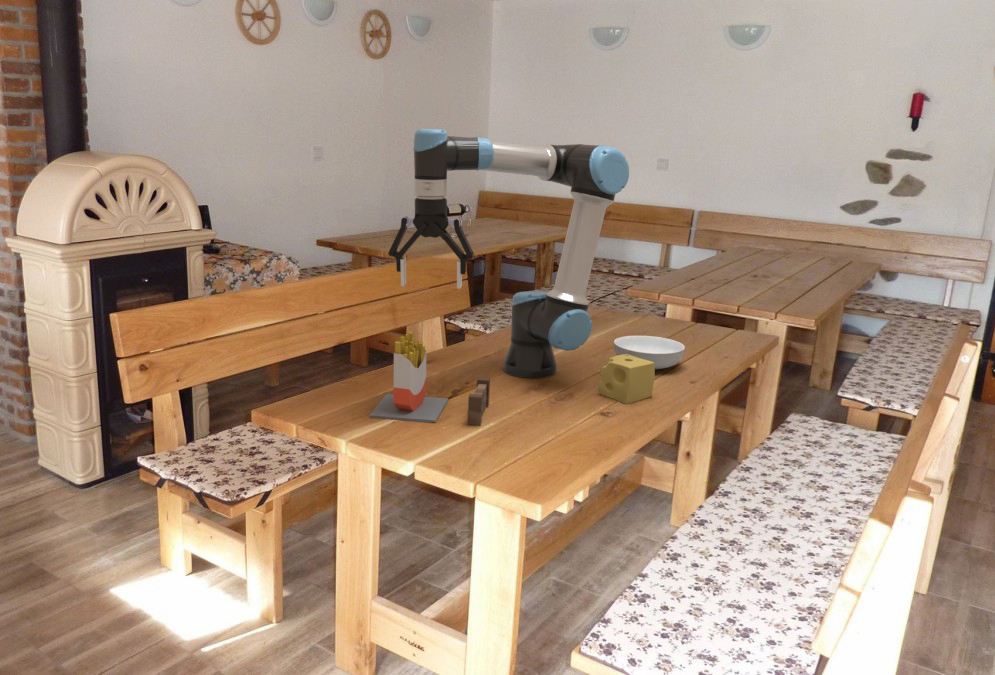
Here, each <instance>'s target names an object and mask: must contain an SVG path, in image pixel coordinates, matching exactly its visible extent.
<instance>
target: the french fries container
mask: <svg viewBox="0 0 995 675" xmlns="http://www.w3.org/2000/svg"><path fill="white" fill-rule="evenodd" d="M423 343H424V342H423V341H422V340H420V339H418V340H417V342H416V340H415V339H414V332H413V331H407V332H406V334H405V336H400V339H399V341H398V340H397V341H394V352H393V393H392V394H393V403H394V404H395V406H396V407H397V409H401V410H408V411H415V410H416V409H417V408H418V407H419V406H421V405H422V403H423V400H424V397H426V393H427V374H428V373H427V350H426V346H425V345H424V344H423Z"/></svg>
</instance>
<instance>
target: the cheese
mask: <svg viewBox="0 0 995 675" xmlns="http://www.w3.org/2000/svg"><path fill="white" fill-rule="evenodd" d="M655 372H656V370H655V367H654V362H651V361H648V360H645V359H641V358H638V357H634V356H632V355H629V354H622V355H614V356H611V357H610V358H609V359H608V362H607V364H606V365H604V366H602V367H601V370H600V377H601V380H600V381H599V382H598V388H597V389H598V390H597V391H598V394H599V395H600V394H601V396H604V397H607V398H609V399H613V400H615V401H617V402H620V403H623V404H626V405H628V404H632V403H635V402H639V401H641V400H644V399H645V400H646V399H649V398H651V397H652V394H653V390H654V383H655Z"/></svg>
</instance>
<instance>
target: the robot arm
mask: <svg viewBox="0 0 995 675" xmlns="http://www.w3.org/2000/svg"><path fill="white" fill-rule="evenodd" d="M413 137H414V138H413V149H412V150H413V158H414V160H413V162H414V164H413V165H414V178H413V179H414V196H416V198H415V199H414V218H412V217H409V216H403V217H402V218H401V221H400V228H399V230H398V231H397V234H396V236H395V238H394V240H393V243H392V244H391V246H390V249H389V250H388V255H389V256H390V257H393V258H395V261H396V272H397V273H400V287H405V286H406V285H407V284H408V283H407V257H404V255H406V253H407V252H408V250H410V248H411V247H412V246H413V245H414V244H415V242H416V241H417V240H418V239H419V238H420V236H422V237H423V238H430V237H431V238H434V239H435V238H436V239H437V238H439V237H440V238H441V239H442V240H443V241H444V242H445V244H446V245H447V246H448V247H449V248H450V249H451V251H452V252H453V253H454V254H455V255H456V257H457V258H458V260H457V261H456V289H457V290H459V289H460V290H461V288H462V287H463V283H462V282H463V275H466V273H467V261H468V260H471V259H473V258H474V256H475V253H474V251H473V249H472V247H471V244H470V242H469V241H468V239H467V237H466V234H465V232H464V230H463V227H462V221H461V219H460V218H459V217H457V218H454V219H449V217H448V199H447V198H446V196H448V171H450V172H452V171H477V172H478V171H486V172H496V173H504V174H505V173H506V174H514V175H526V176H532V177H534V176H535V177H538V179H539V180H541V181H543V182H545V181H547V182H552V183H557V184H560V185H564V186H567V187H570V188H571V189H570V192H569V193H570V195H571V197H572V198H573V205H572V210H571V212H570V214H571V215H570V217H569V218H570V219H569V222H568V227H567V232H566V235H565V240H564V243H563V247H562V252H561V255H560V261H559V265H558V268H557V273H556V277H555V283H554V286H553V289H551V290H550V291H549V290H548V291H547V290H528V291H526V290H525V291H519V292H516V293H515V294H514V295H513V297H512V301H511V302H512V303H511V327H510V330H511V331H510V333H511V334H510V344H509V347H508V350H507V352H506V355H505V358H504V359H503V371H504V372H505V373H506V374H507V375H511V376H513V377H518V378H523V379H524V378H526V379H540V378H541V379H542V378H547V377H552V376H553V375H555V374H557V362H556V358H555V355H554V351H553V350H554V349H553V348H555V349H557V350H562V351H565V352H566V351H567V352H569V351H574V350H578V348H580V347H581V346H583V345H584V344H585V343H586V342H587V341H588V339H589V338H590V336H591V334H592V329H593V320H591V316H590V314H589V313H588V309H589V303H590V302H589V301H588V299H587V297H586V292H587V289H588V285H589V280H590V276H591V274H592V273H591V272H592V267H593V264H594V260H595V255H596V251H597V248H598V244H599V243H598V242H599V238H600V235H601V230H602V226H603V222H604V219H605V214H606V210H607V208H608V207H609V206H611V205H612V204H613V203H614V202H615V198H616V194H618V193H620V192H621V191H622V189H625V187H626V186H627V184H628V182H629V178H630V166H629V162H628V160H627V159H626V155H625V154H624V153H623V152H622V151H620V150H619V149H618V148H616V147H611V146H608V145H593V144H592V145H591V144H583V143H582V144H581V143H575V144H561V145H560V144H550V143H548V144H547V143H545V144H543V145H542V146H533V145H532V146H531V145H526V144H515V143H509V142H508V143H507V142H501V141H500V142H499V141H491V140H490V139H489V138H487V137H479V136H475V137H464V136H453V135H452V136H451V135H448V133H447V131H446V129H443V128H442V129H441V128H438V129H437V128H420V129H417V130H416V131H415V133H414V136H413ZM412 224H413V226H414V227H415V228H416V231H415V232H414V233H413V234H412V236H411V237H409V239H408V240H407V241H406V242H405V244H404V245H403V246H402V248H400V250H399V251H398V248H399V246H400V244H401V243H402V240H403V238H404V236H405V234H406V232H407V230H408V228H409V227H411V225H412ZM448 226H451V228H452V229H453V230H454V231H455V233H456V236H457V238H458V240H459V242H460V244H461V246H462V248H461V247H460V246H459V245H458V243H457V242H456V241H455V240H454V239H453V238H452V236H451V235H450V233H449V232H448V231H447V228H448ZM462 249H463V250H464V251H463V250H462Z"/></svg>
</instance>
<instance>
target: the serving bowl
mask: <svg viewBox="0 0 995 675" xmlns="http://www.w3.org/2000/svg"><path fill="white" fill-rule="evenodd" d="M613 349H614V352H615V356H617V355H622V354H629V355H632V356H634V357H638V358H641V359H645V360H648V361H651V362H654V367H655V371H656V370H662V369H667V368H670V367H673V366H675V365H676V364H678V363H679V362H680V361H681V359H682V358H683V356H684V354H685V350H686V347H685V345H684V344H683V343H682V342H679V341H676V340H673V339H671V338H665V337H660V336H652V335H625V336H620V337H617V338H615V339H614V341H613Z"/></svg>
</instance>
